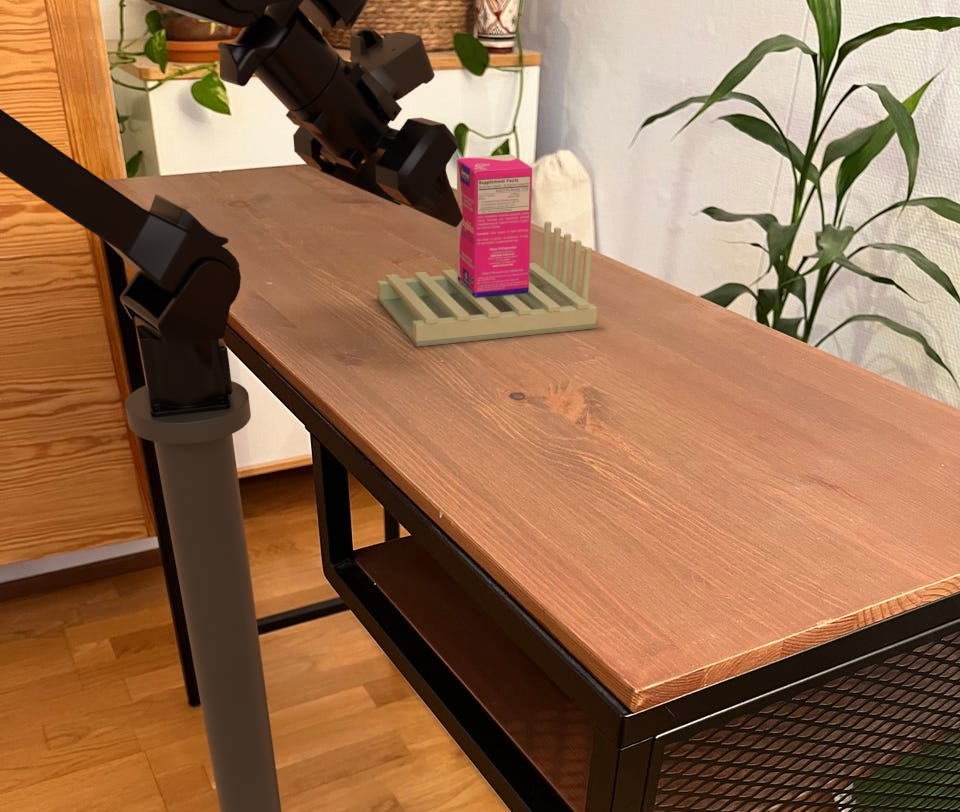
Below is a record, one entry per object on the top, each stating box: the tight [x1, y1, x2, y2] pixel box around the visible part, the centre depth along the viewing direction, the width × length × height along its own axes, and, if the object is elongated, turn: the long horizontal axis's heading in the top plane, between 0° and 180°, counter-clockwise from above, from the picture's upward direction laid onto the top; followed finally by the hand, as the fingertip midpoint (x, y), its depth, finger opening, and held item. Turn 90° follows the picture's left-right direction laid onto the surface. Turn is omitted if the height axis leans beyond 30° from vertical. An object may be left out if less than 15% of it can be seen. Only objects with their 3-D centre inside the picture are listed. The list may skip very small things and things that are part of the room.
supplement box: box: [456, 154, 533, 298], centre depth 98 cm, size 6×6×12 cm
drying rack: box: [377, 220, 598, 348], centre depth 100 cm, size 18×14×7 cm
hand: (430, 211), depth 93 cm, fingers open, 9 cm apart
